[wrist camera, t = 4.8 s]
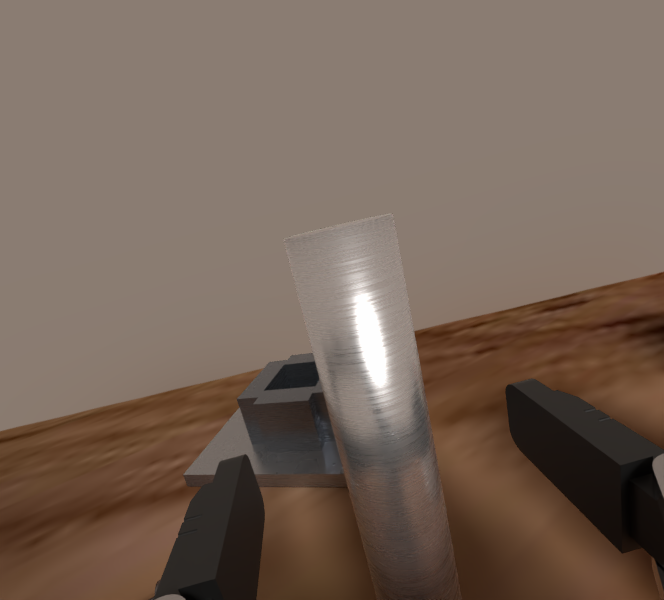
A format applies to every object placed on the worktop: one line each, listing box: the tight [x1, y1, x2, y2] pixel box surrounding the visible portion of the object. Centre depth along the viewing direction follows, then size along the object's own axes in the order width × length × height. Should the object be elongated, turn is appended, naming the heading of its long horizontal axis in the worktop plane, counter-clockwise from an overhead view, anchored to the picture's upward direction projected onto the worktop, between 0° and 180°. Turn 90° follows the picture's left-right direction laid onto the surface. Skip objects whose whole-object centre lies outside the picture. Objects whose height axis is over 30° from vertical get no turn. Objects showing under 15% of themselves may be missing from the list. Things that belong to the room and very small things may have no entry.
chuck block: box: [183, 353, 348, 487], centre depth 27 cm, size 16×12×5 cm
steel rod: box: [283, 213, 462, 600], centre depth 10 cm, size 3×3×16 cm
